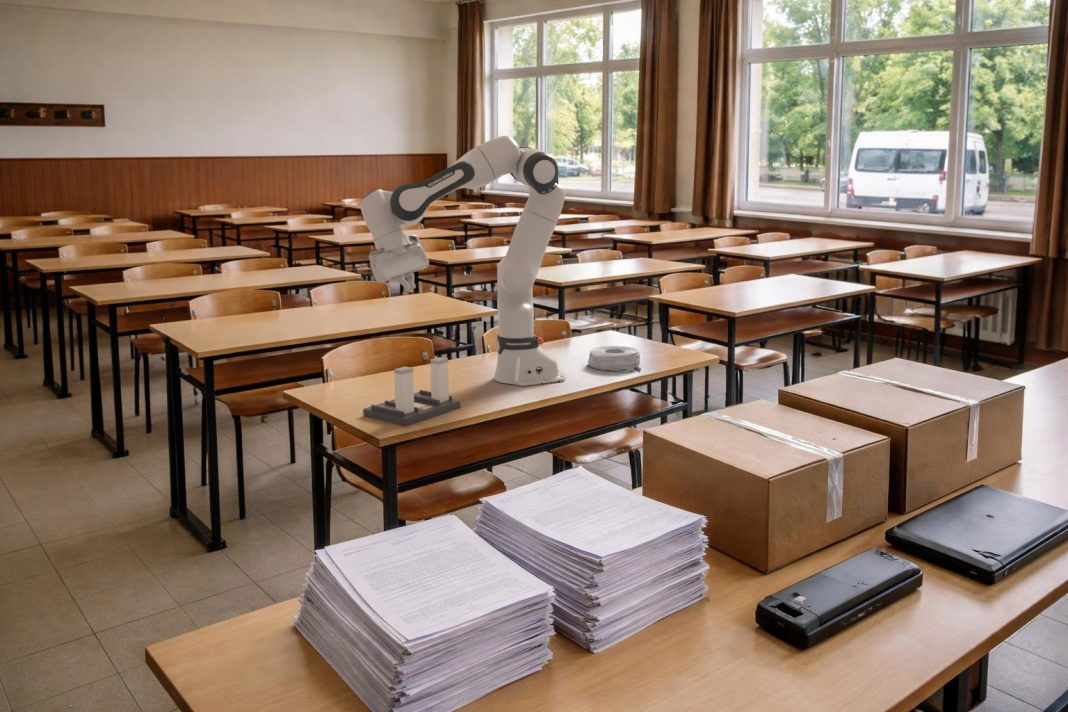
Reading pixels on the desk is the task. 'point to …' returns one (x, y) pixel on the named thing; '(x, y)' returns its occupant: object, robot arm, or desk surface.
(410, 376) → the white rectangular block
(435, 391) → the tall white block
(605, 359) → the cable
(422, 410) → the fixture base
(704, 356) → the desk surface
